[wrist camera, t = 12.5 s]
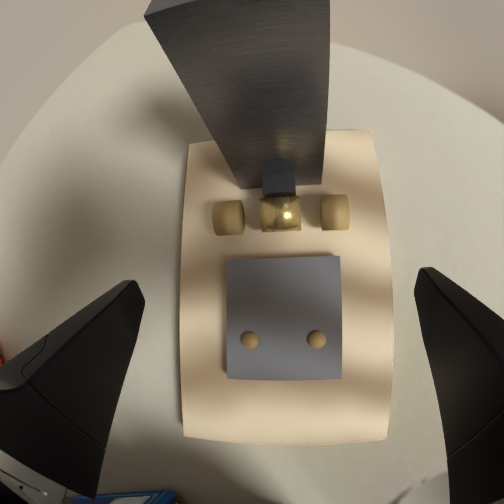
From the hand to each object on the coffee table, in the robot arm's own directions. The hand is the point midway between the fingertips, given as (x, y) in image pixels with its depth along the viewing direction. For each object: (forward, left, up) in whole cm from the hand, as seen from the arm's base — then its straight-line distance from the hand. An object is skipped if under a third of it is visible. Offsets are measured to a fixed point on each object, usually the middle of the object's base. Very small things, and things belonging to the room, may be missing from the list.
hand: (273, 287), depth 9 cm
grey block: (+6, +4, -10) cm, 12 cm away
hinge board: (+1, +1, -11) cm, 11 cm away
